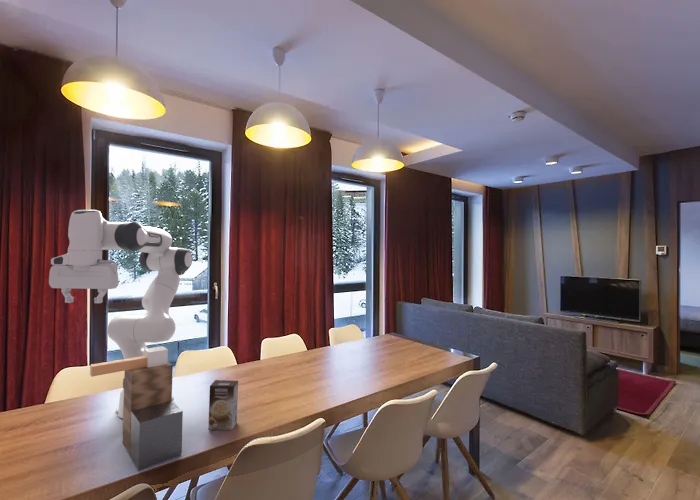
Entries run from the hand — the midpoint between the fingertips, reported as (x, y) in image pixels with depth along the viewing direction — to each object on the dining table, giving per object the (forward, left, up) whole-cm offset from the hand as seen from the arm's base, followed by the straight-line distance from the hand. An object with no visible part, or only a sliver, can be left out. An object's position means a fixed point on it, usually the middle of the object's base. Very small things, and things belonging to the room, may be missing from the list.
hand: (83, 302), depth 110 cm
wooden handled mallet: (-5, +13, -22) cm, 26 cm away
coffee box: (-21, +38, -48) cm, 65 cm away
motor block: (-1, +24, -48) cm, 54 cm away
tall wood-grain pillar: (-8, +17, -48) cm, 51 cm away
